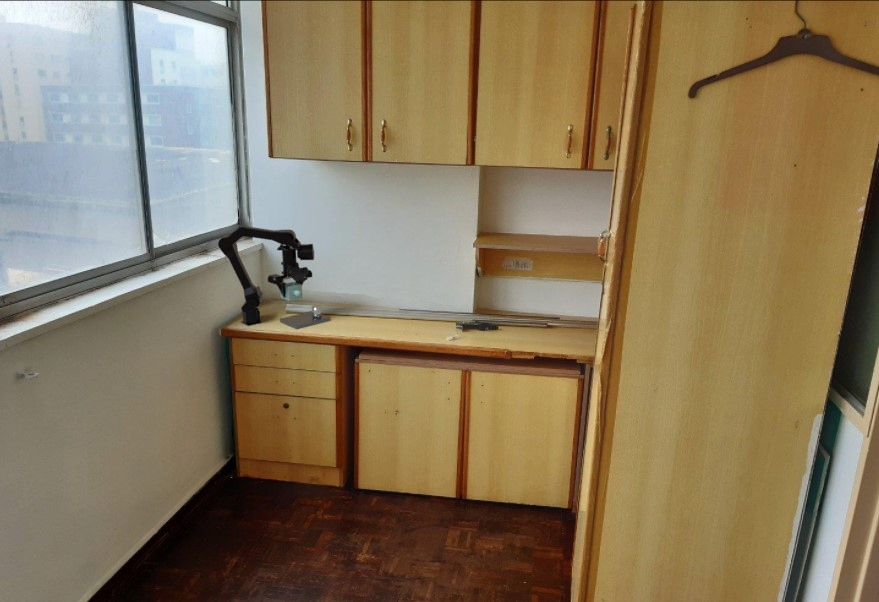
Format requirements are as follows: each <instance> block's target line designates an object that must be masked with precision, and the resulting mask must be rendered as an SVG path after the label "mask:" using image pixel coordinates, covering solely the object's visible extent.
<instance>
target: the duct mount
mask: <svg viewBox="0 0 879 602" xmlns="http://www.w3.org/2000/svg"><path fill="white" fill-rule="evenodd" d="M330 321H331V318H330V317H329V316H326V315H325V314H322V305H320V304H313V305H312V306H311V311H307V312H303V313H302V312H301V313H298V314H297V313H296V314H293V315H290V316H286V317H282V318H279V322H280V323H281V324H283V325H286V326H287V327H291V328H293V329H295V330H298V329H304V328H307V327H312V326H315V325H319V324H323V323H326V322H327V323H328V322H330Z"/></svg>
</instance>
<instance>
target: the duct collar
mask: <svg viewBox="0 0 879 602" xmlns="http://www.w3.org/2000/svg"><path fill="white" fill-rule="evenodd" d="M285 283H286V285H285V294H286V295H285V297H283V295H282V293H281V292H280V291H279V293H280V298H281V299H283V300H285V301H288V302H291V301H296V300H300V299H303V285H301V284H298V283H296V282H295V281H291V282H285Z"/></svg>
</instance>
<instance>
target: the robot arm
mask: <svg viewBox="0 0 879 602" xmlns="http://www.w3.org/2000/svg"><path fill="white" fill-rule="evenodd" d="M243 237H247V238H255V239H261V240H266V241H267V240H269V241H274V242H276V243H277V244H280V245H279V246H278V247H277V249H276V250H277V251H281V256H282V257H281V258H282V261H281V262H280V264H281V265H282V271H281V274H278V273H275V274H269V275H268V276H267V282H268V283H270V284H273V285H276V286H277V288H278V290H279V293H280V292H281V293H282V295H283V297H285V295H286V294H285V285H286V283H287V282H285V280H288V279H292V280H293V281H294V282H296V283H298V284H301V285H302V286H303V285H304V283H305V281H308V279H309V278H313V272H312V270H310V269H309V267H308V266H305V267H300V265H299V262H298V261H297V259H299V260H300V261H314V260H315V248H314V244H313V243H309V244H308V243H307V244H306V243H301V241H300V240H299V239H298V238H297V235H296V232H294V230H292V229H276V230H275V229H274V230H273V229H267V228H261V227H253V226H247V225H240V226H239V227H238V228H237V229H236V230H235V231H234V232H232V233H231V234H225V235H223V236H222V237H221V238H220V239H219V240H218V242H217V247H218V248H219V250H220V251H221V253H222V254H223V255H224V256H225V257H226V258H227V259H228V260H229V262H230V264H231V266H232V269H233V270H234V273H235V275H236V276H237V278H238V281H239V283H240V285H241V287H242V290H243V294H244V295H243V296H244V299H245V302H244V303H243V304H242V305H241V307H240V308H241V309H240V310H241V312H242V313H241V315H242V320H241V321H240V323H242V324H243V325H246V326H254V325H258V324H262V321H261V311H260V308H259V306H260V304H261V303H262V301H263V295H264V293H263V292H262V290H261V288H260V285H257V286H255V285H254V283H253V281H252V279H251V277H250V276H249V274H248V271H247V269H246V267H245V265H244V263H243V261H242V259H241V257H240V255H239V250H238V243H237V242H238V241H239V240H240V239H242V238H243Z"/></svg>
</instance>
